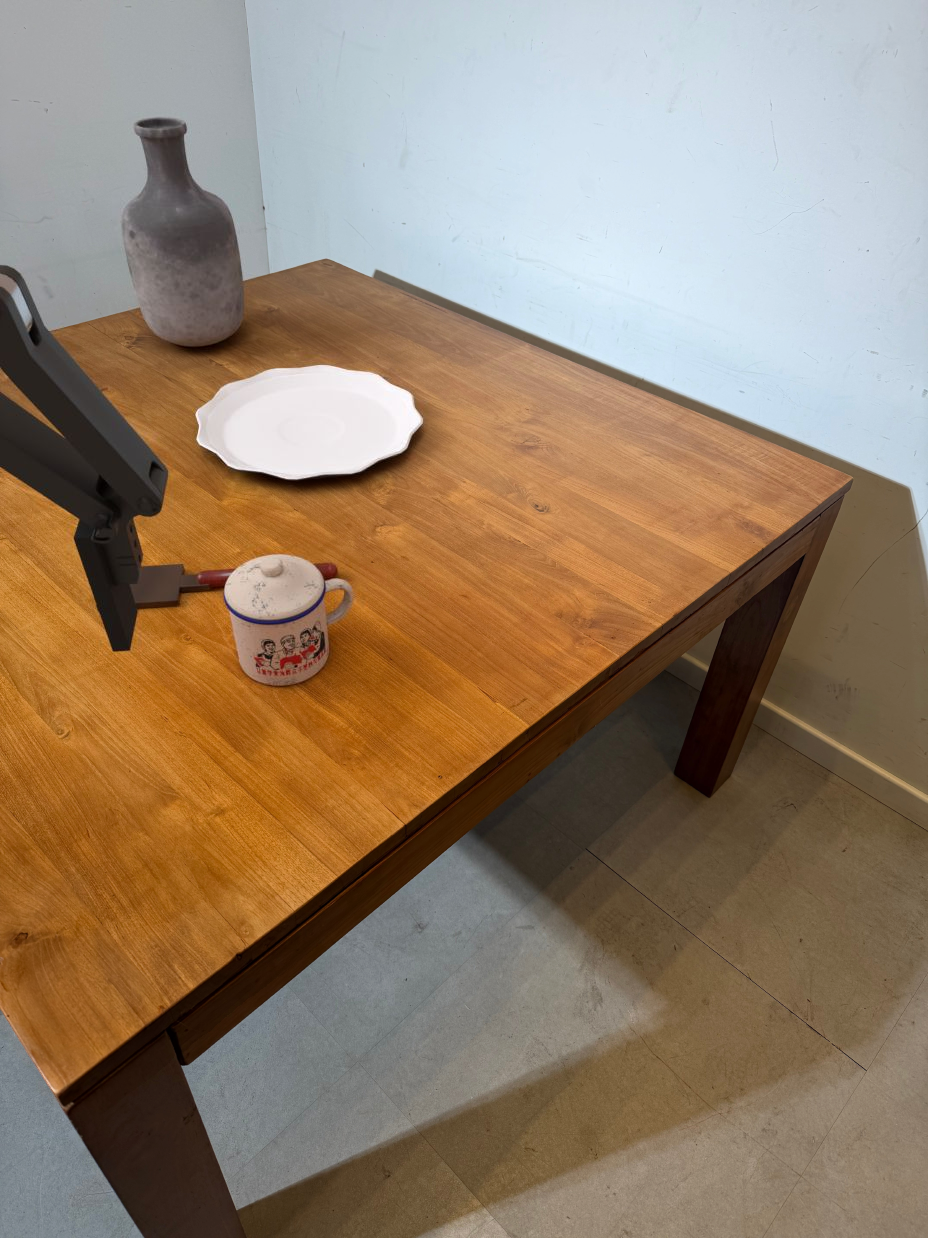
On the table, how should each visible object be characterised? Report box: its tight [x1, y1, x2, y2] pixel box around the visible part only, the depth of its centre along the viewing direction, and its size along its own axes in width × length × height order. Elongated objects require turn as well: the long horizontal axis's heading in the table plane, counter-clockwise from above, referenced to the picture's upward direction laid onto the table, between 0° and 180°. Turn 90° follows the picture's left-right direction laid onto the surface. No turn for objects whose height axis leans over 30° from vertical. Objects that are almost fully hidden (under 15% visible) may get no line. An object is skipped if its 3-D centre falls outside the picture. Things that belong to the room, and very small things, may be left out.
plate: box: [195, 364, 424, 482], centre depth 111 cm, size 29×29×2 cm
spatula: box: [95, 562, 339, 612], centre depth 88 cm, size 24×6×2 cm, turn 99°
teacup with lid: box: [222, 553, 355, 687], centre depth 78 cm, size 12×9×12 cm
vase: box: [120, 116, 245, 348], centre depth 121 cm, size 16×16×30 cm
